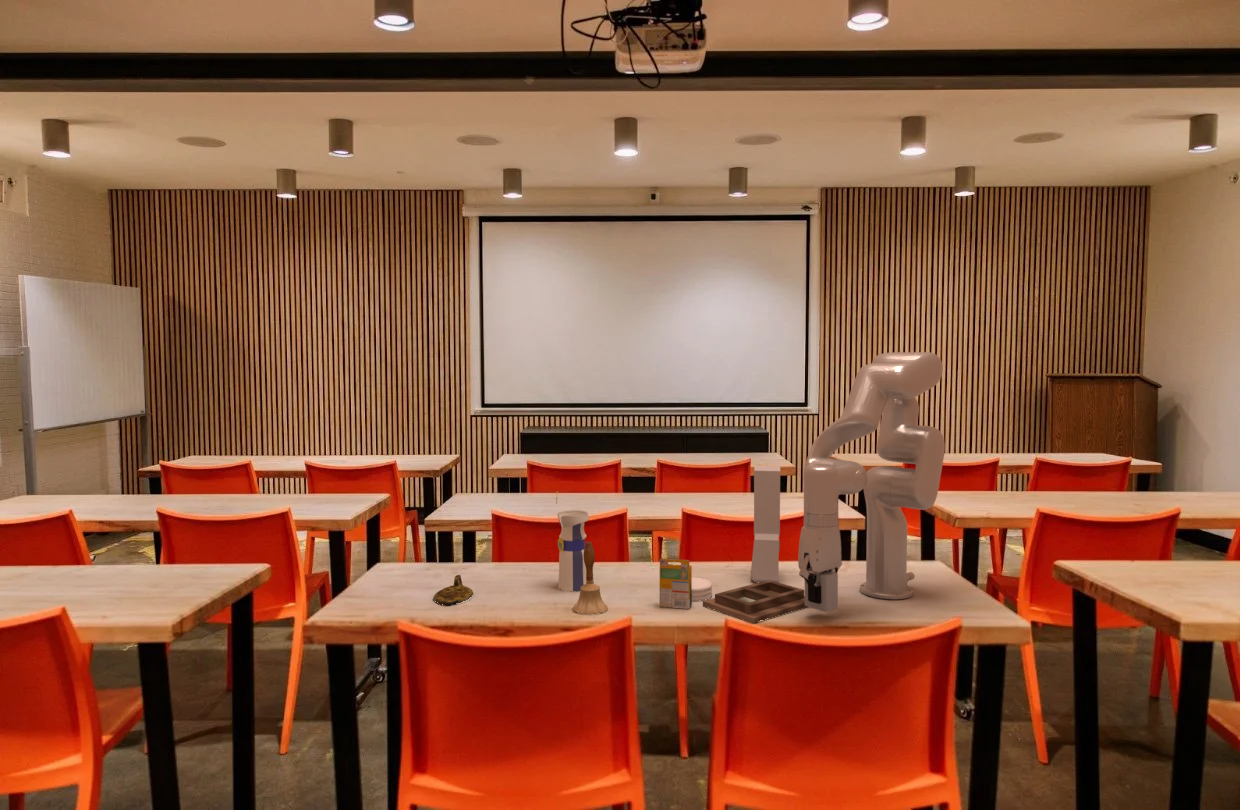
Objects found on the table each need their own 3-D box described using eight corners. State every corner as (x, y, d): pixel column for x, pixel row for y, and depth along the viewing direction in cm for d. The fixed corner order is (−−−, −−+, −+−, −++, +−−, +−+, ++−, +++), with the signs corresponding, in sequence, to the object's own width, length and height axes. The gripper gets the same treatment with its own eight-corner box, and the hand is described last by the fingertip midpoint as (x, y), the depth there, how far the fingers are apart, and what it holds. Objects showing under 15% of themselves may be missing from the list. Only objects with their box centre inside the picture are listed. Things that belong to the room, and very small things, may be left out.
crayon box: (692, 605, 186) (692, 557, 185) (689, 609, 183) (689, 560, 182) (661, 603, 188) (661, 555, 187) (659, 607, 185) (659, 558, 184)
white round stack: (720, 595, 195) (720, 581, 194) (695, 605, 187) (695, 590, 187) (687, 588, 201) (687, 574, 201) (663, 596, 194) (663, 582, 194)
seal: (467, 611, 187) (476, 592, 202) (469, 592, 186) (478, 574, 201) (428, 608, 186) (439, 588, 201) (430, 588, 186) (441, 570, 201)
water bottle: (563, 594, 196) (562, 494, 194) (552, 585, 203) (551, 489, 202) (594, 589, 199) (593, 492, 198) (582, 581, 207) (581, 487, 205)
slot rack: (765, 589, 199) (765, 576, 199) (816, 604, 187) (816, 591, 186) (702, 606, 185) (702, 592, 185) (753, 623, 173) (753, 609, 173)
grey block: (815, 601, 180) (815, 567, 179) (837, 608, 175) (837, 573, 175) (804, 605, 178) (804, 570, 177) (826, 612, 173) (826, 576, 172)
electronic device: (779, 585, 203) (780, 469, 201) (750, 583, 204) (750, 469, 203) (779, 572, 215) (780, 463, 213) (751, 571, 216) (752, 462, 215)
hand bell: (595, 617, 178) (594, 547, 177) (565, 611, 182) (564, 543, 181) (614, 607, 185) (614, 540, 184) (585, 602, 189) (585, 536, 188)
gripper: (830, 511, 183) (830, 588, 184) (783, 522, 173) (783, 604, 174) (857, 516, 177) (857, 596, 178) (810, 528, 167) (811, 612, 168)
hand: (821, 599), depth 176 cm, fingers closed on grey block, 4 cm apart
